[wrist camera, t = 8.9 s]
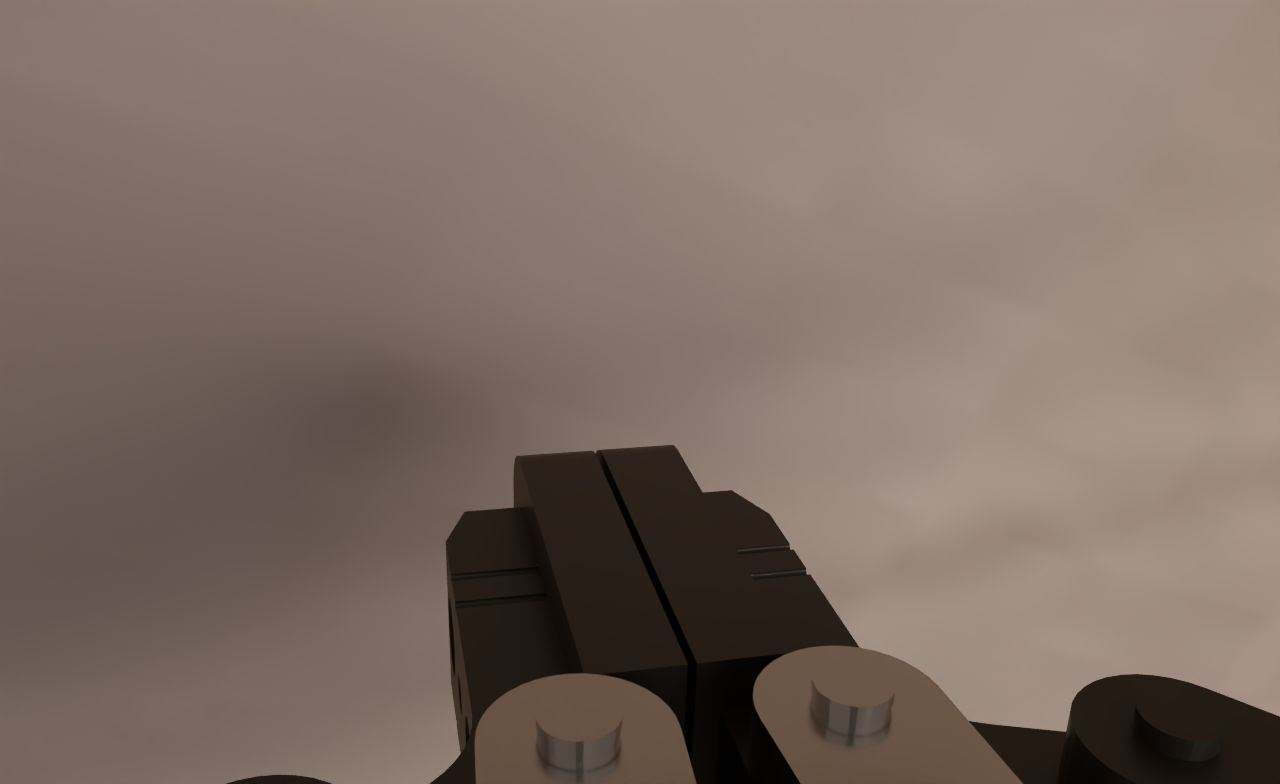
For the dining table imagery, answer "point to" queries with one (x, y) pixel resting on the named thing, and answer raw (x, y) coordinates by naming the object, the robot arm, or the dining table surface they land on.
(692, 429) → the dining table surface
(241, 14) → the dining table surface
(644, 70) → the dining table surface
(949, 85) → the dining table surface
